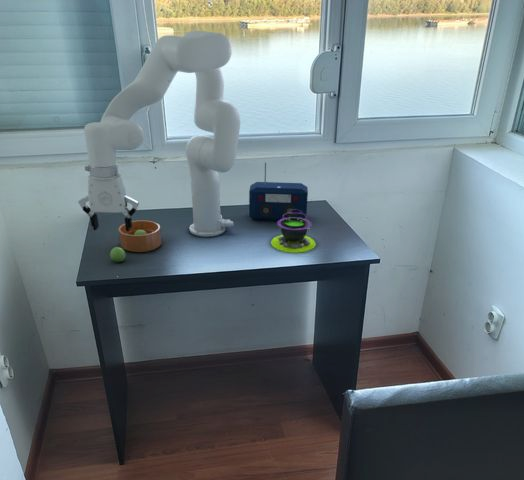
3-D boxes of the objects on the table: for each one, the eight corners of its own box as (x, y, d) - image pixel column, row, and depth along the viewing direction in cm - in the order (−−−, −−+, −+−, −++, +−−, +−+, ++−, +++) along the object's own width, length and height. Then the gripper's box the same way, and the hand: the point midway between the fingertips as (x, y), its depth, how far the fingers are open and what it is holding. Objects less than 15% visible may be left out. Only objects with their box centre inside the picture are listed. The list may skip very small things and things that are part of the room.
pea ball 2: (149, 241, 173) (148, 228, 171) (147, 246, 170) (146, 233, 167) (135, 240, 173) (134, 227, 171) (132, 245, 170) (131, 232, 167)
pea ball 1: (127, 258, 163) (125, 244, 161) (124, 264, 160) (122, 251, 157) (113, 258, 163) (111, 244, 161) (109, 264, 160) (107, 250, 157)
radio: (249, 221, 191) (249, 166, 179) (250, 213, 198) (250, 159, 186) (305, 223, 190) (309, 167, 178) (305, 214, 197) (309, 160, 186)
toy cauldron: (324, 243, 175) (327, 211, 169) (296, 256, 166) (297, 224, 160) (290, 231, 184) (292, 200, 177) (261, 243, 175) (262, 211, 168)
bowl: (164, 237, 177) (163, 220, 174) (157, 253, 166) (156, 236, 163) (126, 236, 177) (123, 219, 174) (116, 253, 166) (114, 235, 163)
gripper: (69, 173, 142) (79, 232, 152) (132, 175, 142) (138, 234, 152) (77, 166, 148) (87, 223, 158) (138, 168, 149) (143, 225, 158)
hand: (112, 229), depth 155 cm, fingers open, 9 cm apart
